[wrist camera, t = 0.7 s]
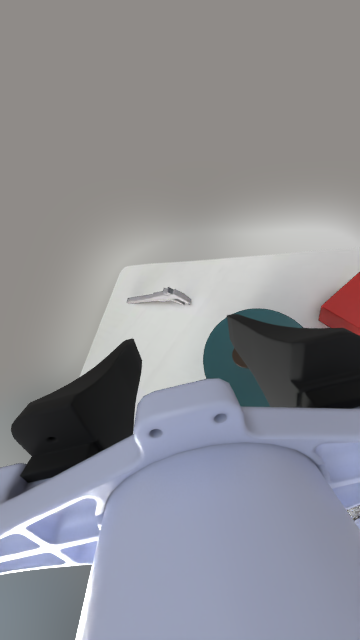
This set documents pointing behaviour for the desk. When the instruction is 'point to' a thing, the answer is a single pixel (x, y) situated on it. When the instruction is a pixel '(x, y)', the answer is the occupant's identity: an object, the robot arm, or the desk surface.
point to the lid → (239, 358)
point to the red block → (343, 307)
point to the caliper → (162, 297)
